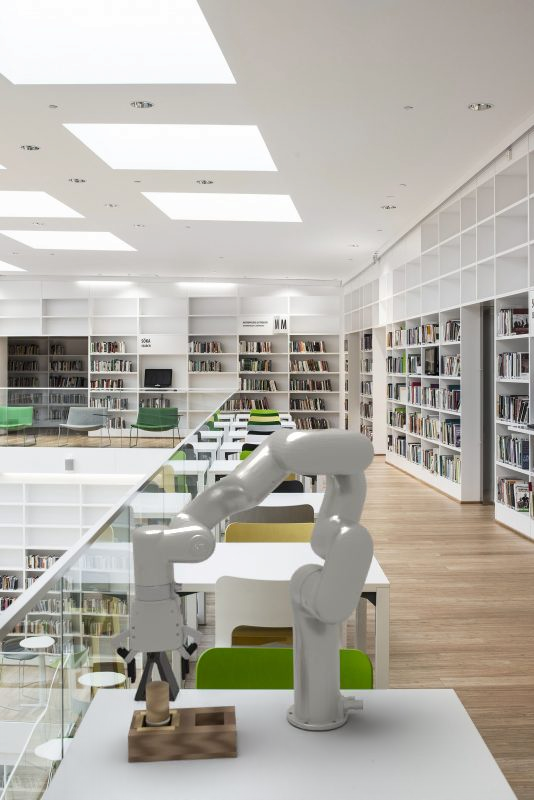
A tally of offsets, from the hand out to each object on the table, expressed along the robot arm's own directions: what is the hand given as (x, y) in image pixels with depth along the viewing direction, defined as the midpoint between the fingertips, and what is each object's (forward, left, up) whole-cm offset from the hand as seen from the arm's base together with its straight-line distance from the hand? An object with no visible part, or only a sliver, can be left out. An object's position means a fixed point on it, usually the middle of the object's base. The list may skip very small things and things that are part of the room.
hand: (159, 679), depth 150 cm
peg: (0, 0, -12) cm, 12 cm away
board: (-5, 0, -13) cm, 14 cm away
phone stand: (+2, -24, -13) cm, 28 cm away
